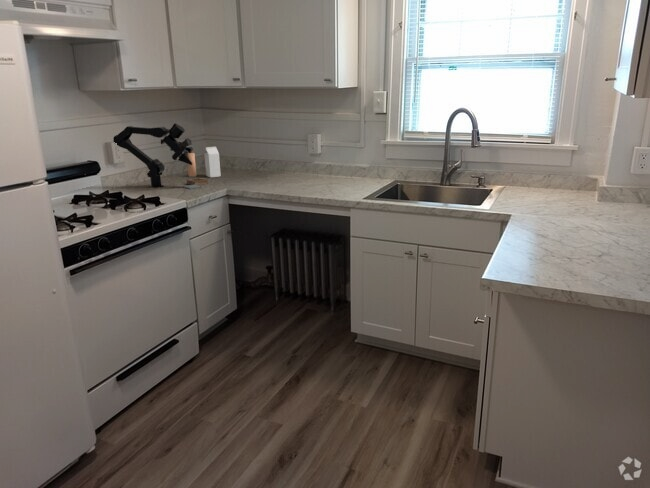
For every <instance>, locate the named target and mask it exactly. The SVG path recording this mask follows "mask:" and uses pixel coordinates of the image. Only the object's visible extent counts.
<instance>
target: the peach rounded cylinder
mask: <svg viewBox="0 0 650 488" xmlns="http://www.w3.org/2000/svg"><path fill="white" fill-rule="evenodd" d="M187 157H188V158H189V160H190V161H191V162H192V163H193V164H192V165H190V164H187V172H188V173H187V174H188V177H191V178H192V177H193V178H194V177H197V164H196V163H195V162H196V155H195V152H191V153H187Z"/></svg>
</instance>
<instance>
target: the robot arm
mask: <svg viewBox="0 0 650 488" xmlns="http://www.w3.org/2000/svg"><path fill="white" fill-rule="evenodd" d="M185 131H186V130H185V128H184V127H183V126H181V125H179V124H178V123H176V122H175V123H173V125H172V126H171V127H170V128H166V126H157V127H142V126H132V125H128V126H126V127H125V128H124V129H123V130H122V131H120V132H119V133H117V134H116V135H114V136H113V140H112V141H113V143H114V142H115V143H117V145H116V146H117V147H119V148H122V149H125V150H127V151H128V152H129V153H131V155H133V156H135V157H136V158H137V159H139V160H140V161H141V162H142V163H143V164H145V166H146V167H147V168H148V170H149V171H148V172H146V175H147V177H148V178H149V179H150V185H148V187H150V188H154V189H155V188H160V187H161V188H162V187H164V184H162V181H161V180H162V179H161V176H162V175H163V172H164V171H165V165H164V164H163V162H162V161H160V160H159V159H158V158H154V159H152V158H151V157H150V156H148V155H147V154H146V153H145V152H144V151H142V150H141V149H140V148H138V147H137V146H136V145H135V144H133V142H132V141H131V137H132V135H135V134H136V135H146V136H147V135H149V136H152V137H154V138H158V139H159V138H160V144H161V145H167V147H168V148H170V149H169V151H171V152H172V151H173V154H172V155H171V158H172V159H173V161H178V162H181V163H185V164H187V165H188V164H190V165H192V164H193V163H192V162H191V161H190V160H189V158H188V157H187V153H193V152H192V151H193V150H194V148H193V147H192V146H190V145H193V143H192V139H190V138H186V139H184V140H183V141H178V140H177V139H180V138H181V136H182V135H183V134H184V133H185ZM115 143H114V144H115ZM195 164H196V161H195Z"/></svg>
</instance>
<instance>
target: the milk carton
mask: <svg viewBox="0 0 650 488" xmlns="http://www.w3.org/2000/svg"><path fill="white" fill-rule="evenodd" d="M204 150H205V151H204V153H203V155H204V164H205V165H204V166H205V174H206V175H205V176H206V177H208V178H217V177H218V178H219V177H222V176H221V164H220V162H221V161H220V153H219V151H218V148H217V146H207V147H206V146H205V149H204Z"/></svg>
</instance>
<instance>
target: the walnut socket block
mask: <svg viewBox="0 0 650 488" xmlns="http://www.w3.org/2000/svg"><path fill="white" fill-rule="evenodd" d="M208 179H209V178H208ZM208 179H207V178H204V177H203V178H202V177H196V178H189V179H186V185H198V186H202V185H207V184H209V180H208Z"/></svg>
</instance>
